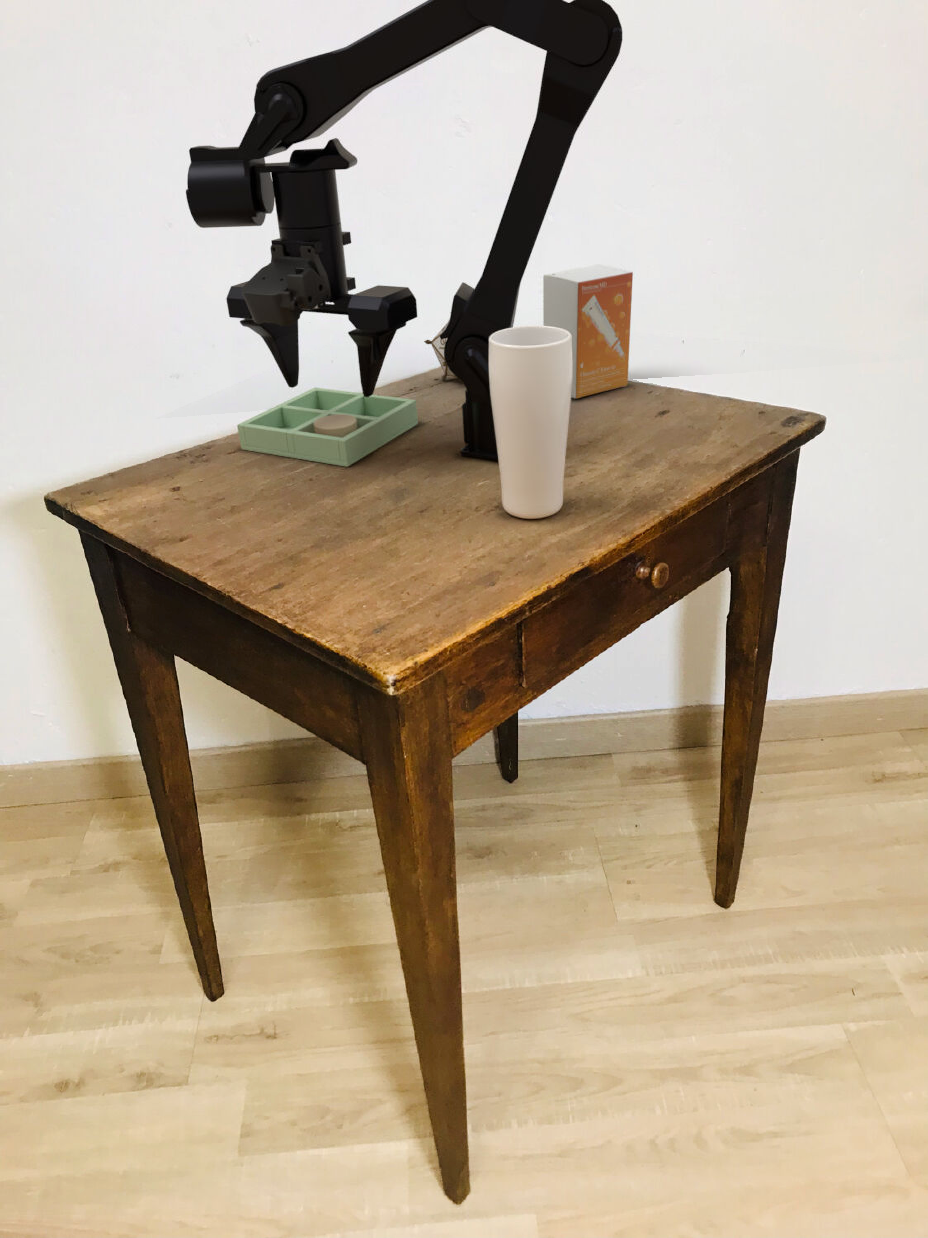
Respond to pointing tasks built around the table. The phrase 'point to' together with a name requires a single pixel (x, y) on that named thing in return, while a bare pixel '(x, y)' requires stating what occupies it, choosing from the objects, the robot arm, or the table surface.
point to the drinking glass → (531, 415)
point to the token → (335, 425)
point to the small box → (592, 323)
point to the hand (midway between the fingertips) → (330, 391)
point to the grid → (295, 437)
